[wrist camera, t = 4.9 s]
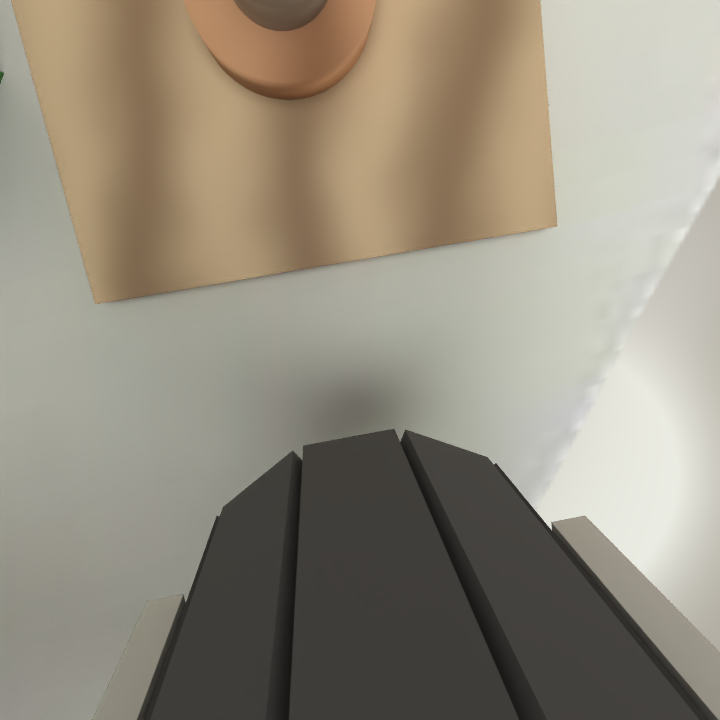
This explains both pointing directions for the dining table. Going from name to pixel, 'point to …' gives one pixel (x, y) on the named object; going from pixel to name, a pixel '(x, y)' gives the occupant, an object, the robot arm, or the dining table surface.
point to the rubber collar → (400, 602)
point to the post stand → (287, 131)
